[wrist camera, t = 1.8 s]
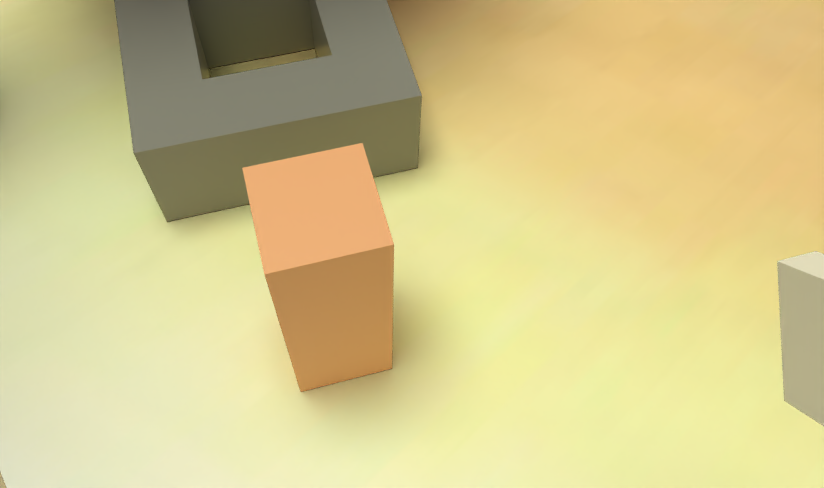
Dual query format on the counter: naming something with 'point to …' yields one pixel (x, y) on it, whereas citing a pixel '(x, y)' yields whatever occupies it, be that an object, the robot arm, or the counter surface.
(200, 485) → the counter surface
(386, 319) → the peg
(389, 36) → the socket
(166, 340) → the counter surface
